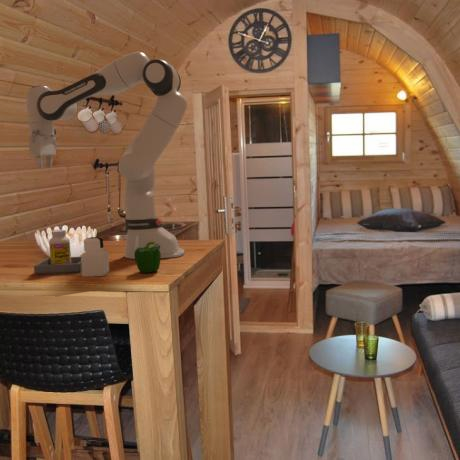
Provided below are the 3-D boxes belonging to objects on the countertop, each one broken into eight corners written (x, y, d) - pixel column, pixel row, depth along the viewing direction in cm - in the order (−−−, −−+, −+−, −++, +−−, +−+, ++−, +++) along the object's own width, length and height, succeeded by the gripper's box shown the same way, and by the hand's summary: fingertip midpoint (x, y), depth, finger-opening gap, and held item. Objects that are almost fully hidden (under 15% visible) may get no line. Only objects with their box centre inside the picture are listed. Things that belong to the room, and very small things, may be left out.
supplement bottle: (53, 270, 184) (49, 232, 182) (50, 267, 190) (46, 230, 188) (73, 268, 187) (70, 230, 185) (69, 264, 193) (66, 228, 191)
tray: (89, 264, 195) (89, 256, 194) (80, 272, 182) (79, 263, 182) (47, 266, 195) (46, 258, 194) (34, 274, 182) (33, 265, 182)
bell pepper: (130, 274, 177) (128, 243, 175) (143, 268, 184) (141, 239, 183) (153, 275, 174) (151, 244, 172) (165, 269, 181) (163, 239, 180)
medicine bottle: (88, 272, 183) (85, 236, 181) (109, 271, 182) (106, 235, 181) (81, 277, 176) (78, 240, 174) (104, 276, 175) (101, 239, 174)
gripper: (40, 129, 196) (44, 168, 198) (58, 131, 217) (61, 166, 219) (22, 130, 196) (26, 169, 198) (42, 131, 217) (45, 167, 219)
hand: (44, 167), depth 209 cm, fingers open, 8 cm apart
